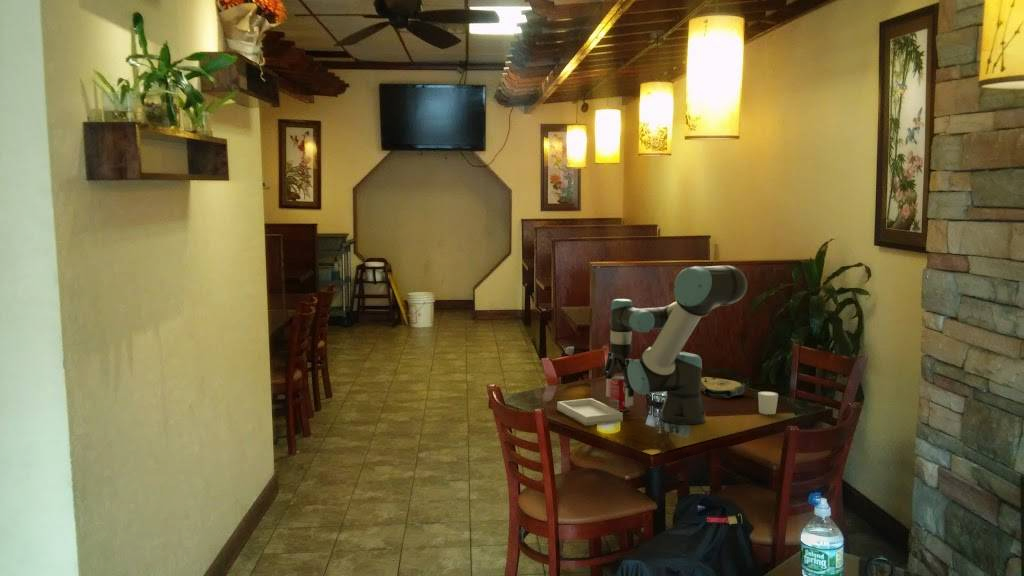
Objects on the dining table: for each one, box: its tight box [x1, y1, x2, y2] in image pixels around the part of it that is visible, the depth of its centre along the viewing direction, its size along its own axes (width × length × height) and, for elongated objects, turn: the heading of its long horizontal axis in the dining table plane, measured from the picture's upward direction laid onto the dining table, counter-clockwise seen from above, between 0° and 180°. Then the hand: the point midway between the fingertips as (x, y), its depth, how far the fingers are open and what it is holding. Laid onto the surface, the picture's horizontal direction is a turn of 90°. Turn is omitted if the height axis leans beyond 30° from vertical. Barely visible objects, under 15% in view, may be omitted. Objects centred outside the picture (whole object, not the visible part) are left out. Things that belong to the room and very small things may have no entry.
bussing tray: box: [556, 397, 624, 427], centre depth 290 cm, size 22×14×3 cm, turn 23°
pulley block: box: [701, 376, 753, 399], centre depth 327 cm, size 14×6×30 cm
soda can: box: [609, 374, 630, 412], centre depth 298 cm, size 7×7×12 cm
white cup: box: [757, 390, 779, 416], centre depth 295 cm, size 7×7×7 cm
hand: (619, 400), depth 298 cm, fingers open, 13 cm apart
